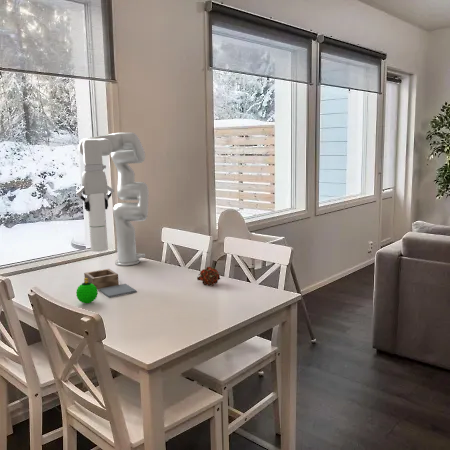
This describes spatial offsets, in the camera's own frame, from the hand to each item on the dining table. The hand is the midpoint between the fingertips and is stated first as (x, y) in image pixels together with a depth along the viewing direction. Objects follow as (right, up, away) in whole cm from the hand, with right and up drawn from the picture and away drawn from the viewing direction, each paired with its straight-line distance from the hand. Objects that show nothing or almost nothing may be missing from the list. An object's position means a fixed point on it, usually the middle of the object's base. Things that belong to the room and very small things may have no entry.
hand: (96, 209), depth 206 cm
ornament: (+1, -38, -18) cm, 42 cm away
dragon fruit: (+48, -33, +3) cm, 59 cm away
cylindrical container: (0, -18, +3) cm, 18 cm away
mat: (+10, -35, -5) cm, 36 cm away
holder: (+1, -33, +6) cm, 34 cm away
